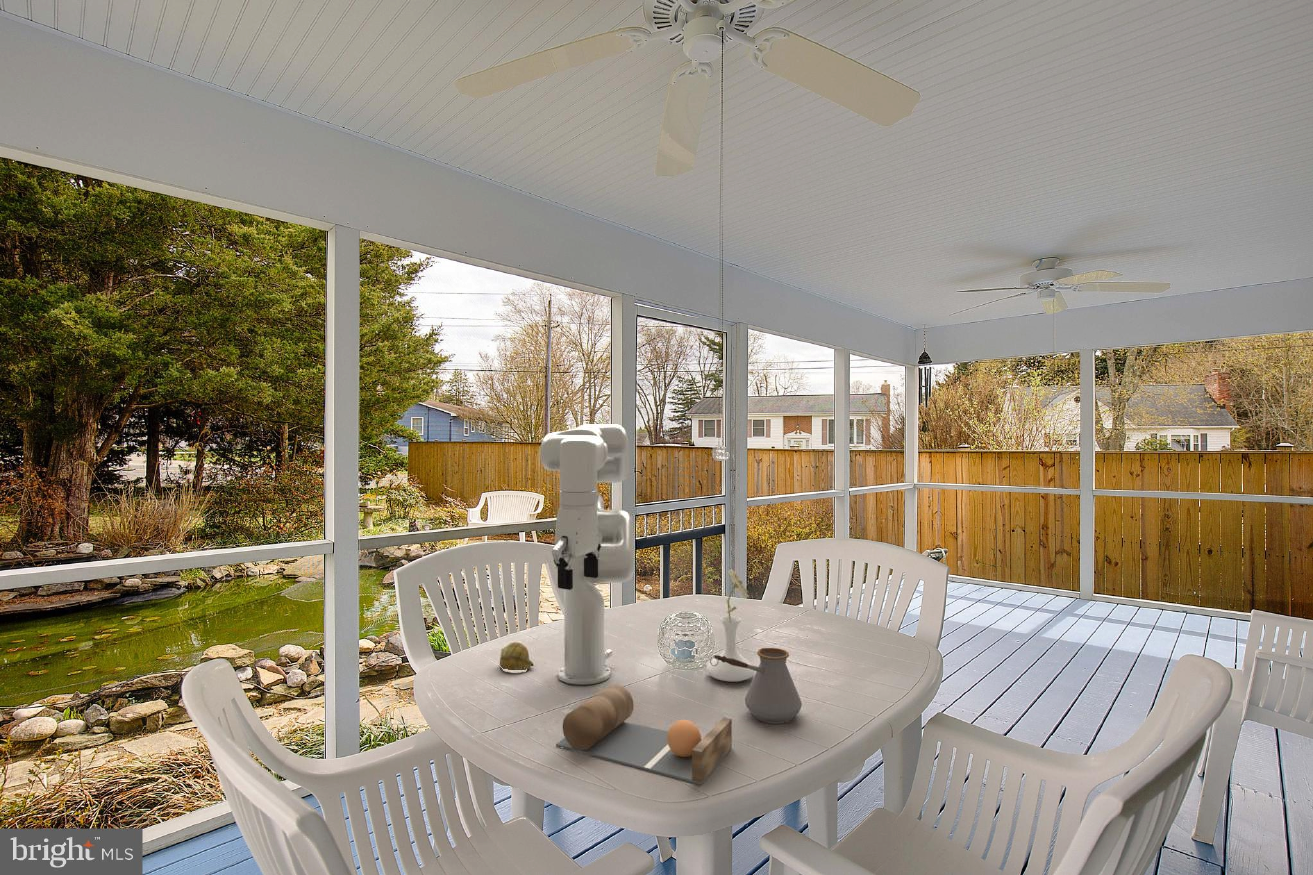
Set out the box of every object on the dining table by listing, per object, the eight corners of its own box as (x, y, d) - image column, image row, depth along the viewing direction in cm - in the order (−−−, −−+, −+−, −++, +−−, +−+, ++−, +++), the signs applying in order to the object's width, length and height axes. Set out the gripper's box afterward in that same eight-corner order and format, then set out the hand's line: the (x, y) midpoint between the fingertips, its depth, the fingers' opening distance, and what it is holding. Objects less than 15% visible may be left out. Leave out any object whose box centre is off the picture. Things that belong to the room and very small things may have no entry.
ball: (675, 743, 119) (676, 711, 119) (705, 752, 116) (706, 719, 116) (660, 757, 114) (661, 724, 114) (692, 767, 111) (693, 732, 111)
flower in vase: (753, 688, 147) (753, 577, 147) (703, 684, 149) (703, 575, 149) (756, 668, 160) (756, 566, 160) (710, 664, 162) (710, 564, 162)
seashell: (529, 686, 159) (543, 655, 163) (520, 676, 153) (536, 644, 158) (495, 673, 162) (510, 644, 166) (486, 663, 157) (502, 633, 161)
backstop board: (723, 744, 119) (723, 717, 119) (731, 746, 118) (731, 718, 118) (692, 780, 107) (692, 749, 107) (701, 782, 106) (701, 751, 106)
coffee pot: (774, 699, 140) (774, 630, 140) (813, 719, 131) (814, 644, 131) (694, 723, 129) (694, 647, 129) (731, 746, 119) (731, 664, 119)
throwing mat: (596, 717, 132) (596, 714, 132) (731, 748, 118) (731, 745, 118) (555, 746, 119) (555, 743, 119) (701, 785, 106) (701, 781, 106)
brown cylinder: (603, 716, 131) (603, 681, 131) (633, 723, 128) (633, 687, 128) (562, 745, 118) (562, 707, 118) (594, 754, 115) (595, 714, 115)
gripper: (585, 493, 141) (585, 571, 141) (537, 503, 125) (538, 591, 126) (615, 495, 137) (615, 575, 138) (570, 506, 122) (570, 596, 123)
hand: (578, 582), depth 132 cm, fingers open, 9 cm apart
